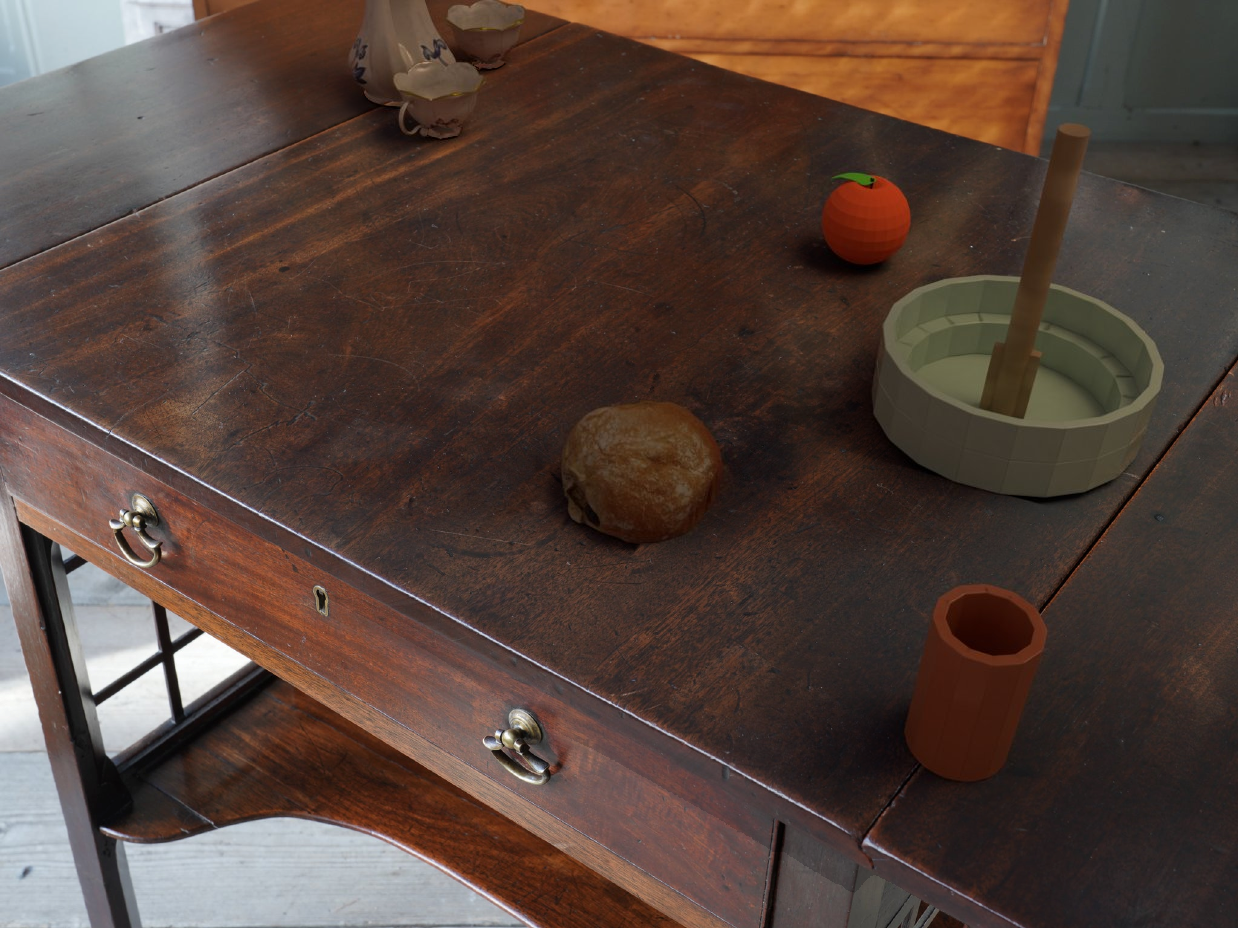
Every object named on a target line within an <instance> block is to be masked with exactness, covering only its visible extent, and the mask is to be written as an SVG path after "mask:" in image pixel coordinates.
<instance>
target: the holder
mask: <svg viewBox="0 0 1238 928" xmlns="http://www.w3.org/2000/svg"><path fill="white" fill-rule="evenodd" d="M1048 633H1049V632H1048V628H1047V626H1046V624H1045V621H1044V620H1043V618H1042V616H1041V613H1040V612H1039V610H1038V609H1037V607H1036V606H1034V605H1033V604H1031V603H1030V602H1029V601H1028V600H1026V599H1025V598H1023V597H1022V596H1021V595H1019V594H1017V593H1016V592H1014V591H1012V590H1009V589H1005V588H1002V587H999V586H995V585H991V584H988V583H987V584H986V583H978V584H977V583H975V584H964V585H957V586H955V587H954V588H952V589H951V590H949V591H947V592H945V593H943V594H942V595H941V596H939V597H938V598H937V601H936V603H935V606H934V610H933V612H932V615H931V619H930V623H929V627H928V632H927V634H926V635H927V636H926V640H925V644H924V648H923V651H922V656H921V660H920V663H919V668H918V672H917V675H916V679H915V684H914V687H913V688H914V689H913V693H912V696H911V700H910V705H909V709H908V712H907V717H906V722H905V725H904V728H903V729H904V730H903V733H904V736H905V739H906V744H907V747H908V749H909V750H910V753H911V754H912V755H913V757H914V758H915V759H916V760H917V761H918V763H920V764H921V765H922V766H923V767H924V768H925V769H927V770H929V771H930V772H932V773H934V774H935V775H937V776H939V777H942V778H945V779H948V780H951V781H957V782H977V781H982V780H985V779H988V778H990V777H992V776H993V775H995V774H996V773H997V772H999V771H1000V769H1002V768H1003V767H1005V765H1006V763H1007V760H1008V757H1009V755H1010V750H1011V748H1012V744H1013V742H1014V739H1015V735H1016V733H1017V730H1018V727H1019V723H1020V721H1021V718H1022V715H1023V712H1024V710H1025V706H1026V703H1027V700H1028V696H1029V695H1030V691H1031V688H1032V686H1033V682H1034V680H1035V677H1036V674H1037V670H1038V668H1039V665H1040V662H1041V659H1042V655H1043V653H1044V649H1045V645H1046V641H1047V637H1048Z"/></svg>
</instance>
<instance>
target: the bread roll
mask: <svg viewBox="0 0 1238 928" xmlns="http://www.w3.org/2000/svg"><path fill="white" fill-rule="evenodd" d="M718 442H719V440H718V439H716V438H714V436H713V435H712V433H711V432H710V430H709V429H708V427H707V426H706V424H705V422H704V421H702V420H700V419H699V418H697V417H696V416H695V415H694V414H693V413H692V412H691V411H690V410H689V409H686V408H685V407H683V406H681V405H679V404H677V403H675V402H672V401H659V402H658V401H654V400H643V401H640V402H638V403H637V404H621V405H613V406H604V407H597V408H596V409H594V410H592V411H590V412H588V413H586V414H585V415H584V416H583V417H581V419H580V420H579V421H577V422H576V424H575V425H574V426H573V428H572V429H571V431H570V433H569V434H568V435H567V438H566V441H565V444H564V446H563V449H562V451H561V454H560V465H561V466H560V467H561V468H560V469H561V470H560V471H561V482H562V487H563V491H564V497H565V498H566V499H567V501H568V506H567V513H568V514H569V516H570V518H571V520H572V521H573V520H574V521H575V522H577V523H579V524H585V525H587V526H589V527H591V528H593V530H596V531H597V532H600V533H602V534H605V535H609V536H612V537H614V538H617V539H621V540H622V541H624V542H626V543H628V544H629V543H630V544H636V545H641V544H642V543H656V542H663V541H667V540H671V539H674V538H678V537H680V536H683V535H685V534H686V533H688V532H690V531H692V530H693V529H694V527H695V526H696V525H698V524H699V522H700V520H701V519H702V518H703V517H704V513H707V512H708V511H709V510H710V508H711V506H713V504H714V502H715V499H716V498H717V496H718V494H719V489H720V487H721V486H722V485H721V484H722V482H723V472H724V461H723V457H722V456H723V455H722V452H721V449H720V446H719V443H718Z"/></svg>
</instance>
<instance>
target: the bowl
mask: <svg viewBox="0 0 1238 928" xmlns="http://www.w3.org/2000/svg"><path fill="white" fill-rule="evenodd" d="M1020 279H1021V276H1011V275H1010V276H1009V275H996V274H977V275H969V276H958V277H950V278H944V279H940V280H938V281H935V282H931V283H928V284H926V285H921V286H919V287H916V288H914V289H913V290H911V291H910V292H909V293H907V294H906V295H904V296H903V297H901V298H900V299H899V300H897V301H896V302H895V303H893V304H892V305H891V308H890V310H889V312H888V314H887V315H886V317H885V319H884V321H883V323H882V327H881V333H880V340H879V345H878V350H877V356H876V361H875V368H874V374H873V380H872V385H871V399H872V400H871V401H872V402H871V403H872V411H873V413H872V414H873V416H874V417H875V419H876V420H877V422H878V424H879V426H880V427H881V429H882V430H883V432H884V434H885V435H886V437H887V439H888V440H889V441H890V442H891V443H892V444H894V445H895V446H896V447H897V448H898V449H899V450H900V451H902V452H903V453H904V454H906V456H908V457H909V458H910V459H912V461H914V462H915V463H916V464H918V465H920V466H921V467H923V468H925V469H928V470H930V471H932V472H934V473H935V474H937V475H939V476H942V477H944V478H946V479H948V480H950V481H951V482H955V483H958V484H962V485H965V486H968V487H973V488H976V489H980V490H984V491H988V492H991V493H995V494H1000V495H1007V496H1009V495H1010V496H1023V497H1033V498H1034V497H1035V498H1036V497H1037V498H1051V497H1058V496H1066V495H1073V494H1079V493H1086V492H1088V491H1091V490H1093V489H1095V488H1097V487H1099V486H1101V485H1104V484H1106V483H1109V482H1111V481H1113V480H1115V479H1116V478H1119V476H1121V475H1122V473H1123V472H1124V471H1125V470H1126V469H1127V468H1128V467H1129V466H1130V465H1131V464H1132V462H1133V461H1135V459H1136V458H1137V456H1138V454H1139V452H1140V448H1141V445H1142V443H1143V440H1144V437H1145V434H1146V431H1147V428H1148V426H1149V423H1150V420H1151V417H1152V414H1153V411H1154V409H1155V406H1156V403H1157V400H1158V398H1159V395H1160V392H1161V388H1162V383H1163V378H1164V372H1165V364H1164V362H1163V359H1162V357H1161V355H1160V353H1159V350H1158V347H1157V344H1156V343H1155V341H1154V340H1153V339H1152V338H1151V337H1150V336H1149V335H1148V334H1147V333H1146V332H1145V331H1144V330H1143V329H1142V328H1141V327H1140V326H1139V324H1138V323H1137V322H1135V320H1133V318H1131V317H1129V316H1127V315H1126V314H1124V313H1122V312H1121V311H1120V310H1118V309H1116V308H1114V307H1113V306H1111V305H1110V304H1108V303H1106V302H1105V301H1103V300H1100V299H1098V298H1096V297H1093V296H1090V295H1088V294H1085V293H1084V292H1080V291H1077V290H1074V289H1073V288H1069V287H1067V286H1065V285H1061V284H1056V283H1052V282H1051V284H1050V288H1049V291H1048V295H1047V299H1046V303H1045V306H1044V310H1043V314H1042V317H1041V321H1040V325H1039V329H1038V332H1037V336H1036V340H1035V344H1034V347H1033V350H1036V351H1040V352H1042V356H1041V359H1040V363H1039V367H1038V370H1037V374H1036V378H1035V381H1034V385H1033V389H1032V392H1031V396H1030V400H1029V403H1028V407H1027V411H1026V414H1025V417H1024V419H1021V418H1017V417H1010V416H1006V415H1002V414H998V413H994V412H990V411H989V410H985V409H981V408H979V405H980V401H981V396H982V392H983V388H984V384H985V380H986V376H987V372H988V367H989V363H990V359H991V355H992V351H993V347H994V344H995V342H996V341H997V342H1001V343H1005V339H1006V335H1007V331H1008V327H1009V323H1010V319H1011V315H1012V311H1013V307H1014V303H1015V299H1016V295H1017V291H1018V287H1019V283H1020Z"/></svg>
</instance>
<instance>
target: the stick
mask: <svg viewBox="0 0 1238 928" xmlns="http://www.w3.org/2000/svg"><path fill="white" fill-rule="evenodd" d="M1091 134H1092V131H1091V129H1090V128H1089V127H1088V126H1086V125H1084V124H1081V123H1075V122H1065V123H1061V124H1060V125H1058V127H1057V131H1056V135H1055V139H1054V142H1053V146H1052V151H1051V153H1050V154H1051V155H1050V159H1049V162H1048V167H1047V171H1046V175H1045V178H1044V182H1043V187H1042V192H1041V195H1040V198H1039V203H1038V206H1037V211H1036V215H1035V218H1034V219H1035V220H1034V223H1033V227H1032V232H1031V235H1030V238H1029V242H1028V243H1029V244H1028V247H1027V251H1026V255H1025V258H1024V259H1025V260H1024V264H1023V268H1022V271H1021V275H1020V277H1021V279H1020V283H1019V287H1018V291H1017V295H1016V299H1015V303H1014V307H1013V311H1012V315H1011V319H1010V323H1009V327H1008V331H1007V335H1006V339H1005V343H1001V342H997V341H996V342H995V344H994V347H993V351H992V355H991V359H990V363H989V367H988V372H987V376H986V380H985V384H984V388H983V392H982V396H981V401H980V405H979V408H981V409H985V410H989V411H990V412H994V413H998V414H1002V415H1006V416H1010V417H1017V418H1021V419H1024V417H1025V414H1026V411H1027V407H1028V403H1029V400H1030V396H1031V392H1032V389H1033V385H1034V381H1035V378H1036V374H1037V370H1038V367H1039V363H1040V359H1041V356H1042V352H1040V351H1036V350H1033V347H1034V344H1035V340H1036V336H1037V332H1038V329H1039V325H1040V321H1041V317H1042V314H1043V310H1044V306H1045V303H1046V299H1047V295H1048V291H1049V288H1050V284H1051V283H1052V280H1053V276H1054V273H1055V269H1056V265H1057V261H1058V258H1059V255H1060V254H1059V253H1060V250H1061V246H1062V243H1063V239H1064V235H1065V231H1066V227H1067V223H1068V220H1069V216H1070V213H1071V210H1072V209H1071V208H1072V204H1073V202H1074V198H1075V195H1076V190H1077V188H1078V187H1077V186H1078V183H1079V179H1080V175H1081V173H1082V172H1081V171H1082V167H1083V163H1084V160H1085V157H1086V152H1087V149H1088V146H1089V141H1090V138H1091Z"/></svg>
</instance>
